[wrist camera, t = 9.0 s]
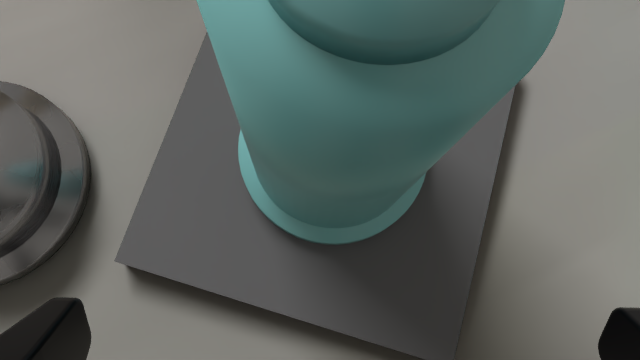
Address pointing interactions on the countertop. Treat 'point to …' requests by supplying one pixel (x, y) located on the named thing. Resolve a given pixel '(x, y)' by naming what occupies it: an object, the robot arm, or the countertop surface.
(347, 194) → the teal cylinder
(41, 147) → the metal domed disc
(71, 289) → the countertop surface
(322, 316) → the mat
